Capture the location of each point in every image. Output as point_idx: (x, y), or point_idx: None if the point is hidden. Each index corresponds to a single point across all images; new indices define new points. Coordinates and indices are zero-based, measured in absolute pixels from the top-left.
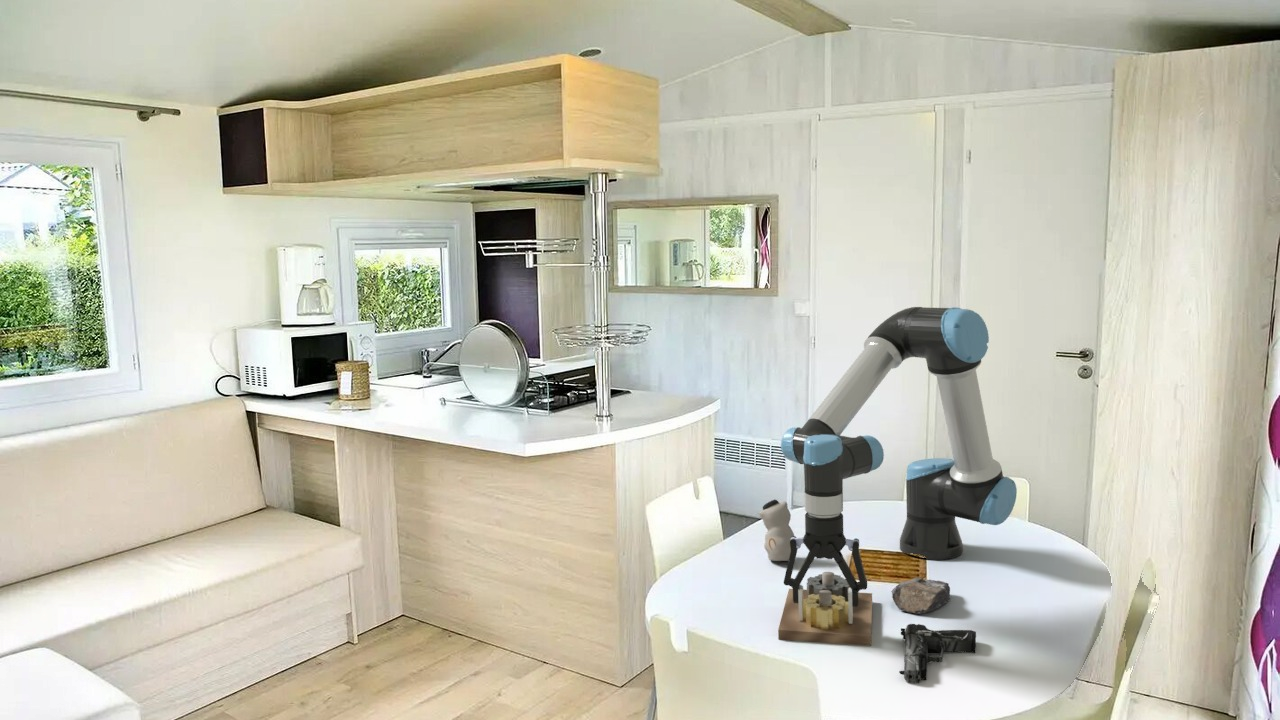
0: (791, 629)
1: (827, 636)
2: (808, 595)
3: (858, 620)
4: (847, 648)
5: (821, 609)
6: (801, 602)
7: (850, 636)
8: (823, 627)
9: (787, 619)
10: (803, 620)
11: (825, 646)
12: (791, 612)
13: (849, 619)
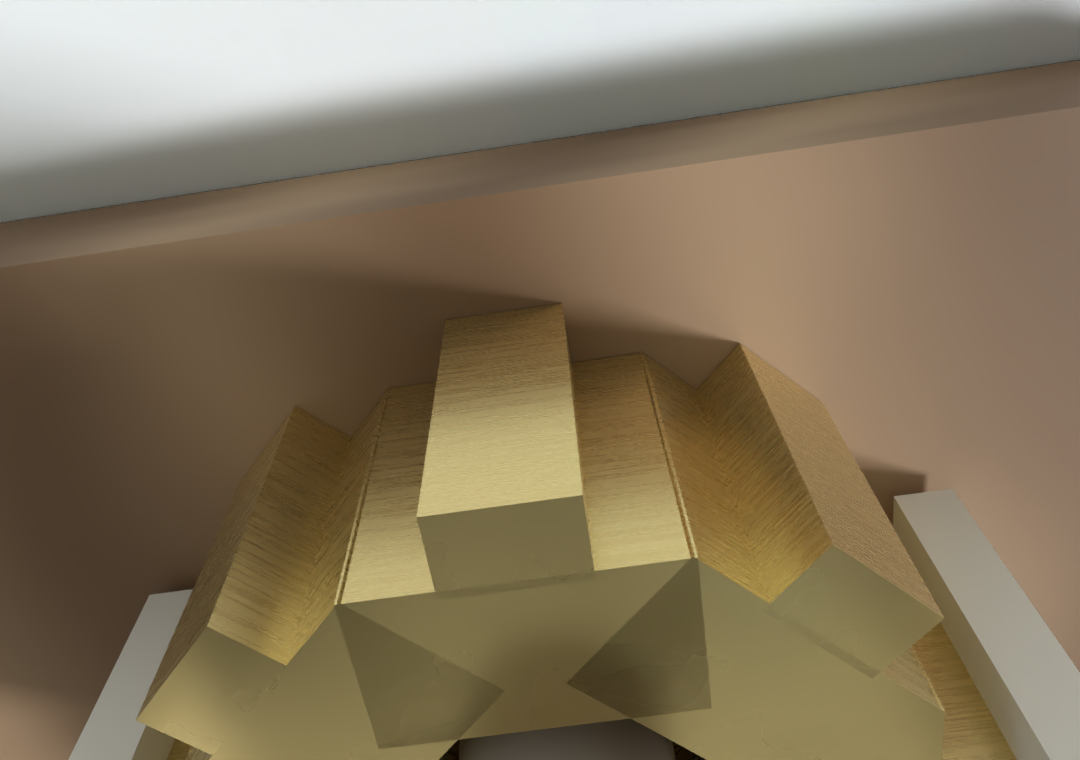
0: (1061, 157)
1: (430, 183)
2: None
3: None
4: (101, 59)
5: (573, 544)
6: (1044, 722)
7: (55, 246)
8: (520, 327)
9: None
10: None
11: (438, 22)
12: None
13: (171, 632)
